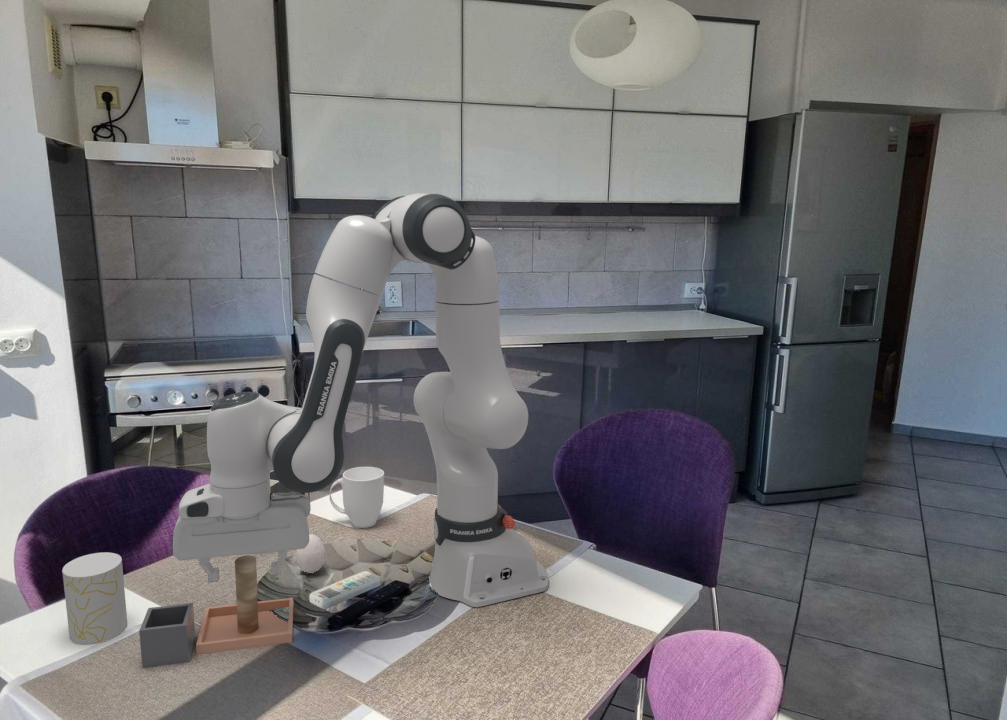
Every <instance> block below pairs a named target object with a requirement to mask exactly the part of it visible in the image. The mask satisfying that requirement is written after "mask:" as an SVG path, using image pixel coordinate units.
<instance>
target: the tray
mask: <svg viewBox="0 0 1007 720" xmlns="http://www.w3.org/2000/svg"><path fill="white" fill-rule="evenodd" d="M284 607H289V620H288V623H287V622H285V621H283V620H281V619H279V618H278V617H277V615H274V614H273V612H272V611H271V612H270V611H268V610H271V609H276V608H284ZM258 625H259V627H258V629H257V630H256V631H255V632H253V633H249V634H241V633H239V632H238V626H237V603H234V604H233V603H232V604H224V605H218V606H217V605H215V606H207V607H205V609H204V612H203V617H202V620H201V625H200V629H199V632H198V636H197V641H196V645H195V651H196V655H205V654H212V653H217V652H226V651H234V650H243V649H249V648H250V649H252V648H257V647H259V648H260V647H267V646H273V645H282V644H287V643H288V644H289V643H293V634H294V633H293V631H294V627H293V626H294V597H288V598H279V599H269V600H261V601H258Z"/></svg>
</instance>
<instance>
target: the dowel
mask: <svg viewBox="0 0 1007 720" xmlns="http://www.w3.org/2000/svg"><path fill="white" fill-rule="evenodd" d="M234 573H235V575H234V576H235V596H236V598H235V602H236V604H237V626H238V632H239V633H241V634H249V633H253V632H255V631H256V630H257V629H258V627H259V625H258V602H259V601H258V597H259V596H258V576H257V575H258V574H257V573H258V572H257V557H256V556H255V555H251V554H245V555H240V556H238V557H237V558H236V559H235V560H234Z"/></svg>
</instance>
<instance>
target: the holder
mask: <svg viewBox="0 0 1007 720" xmlns="http://www.w3.org/2000/svg"><path fill="white" fill-rule="evenodd" d="M195 627H196V626H195V611H194V602H189V603H181V604H172V605H162V606H154V607H148V609H146V613H145V616H144V618H143V621H142V623H141V625H140V628H139V630H138V631H139V633H138V634H139V643H140V656H141V657H140V658H141V666H142V669H147V668H151V667H152V668H153V667H154V668H155V667H159V666H160V667H161V666H167V665H175V664H176V665H177V664H182V663H190V660H191V656H192V653H193V650H194V646H195V645H194V644H195V641H196V638H197V637H196V628H195Z"/></svg>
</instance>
